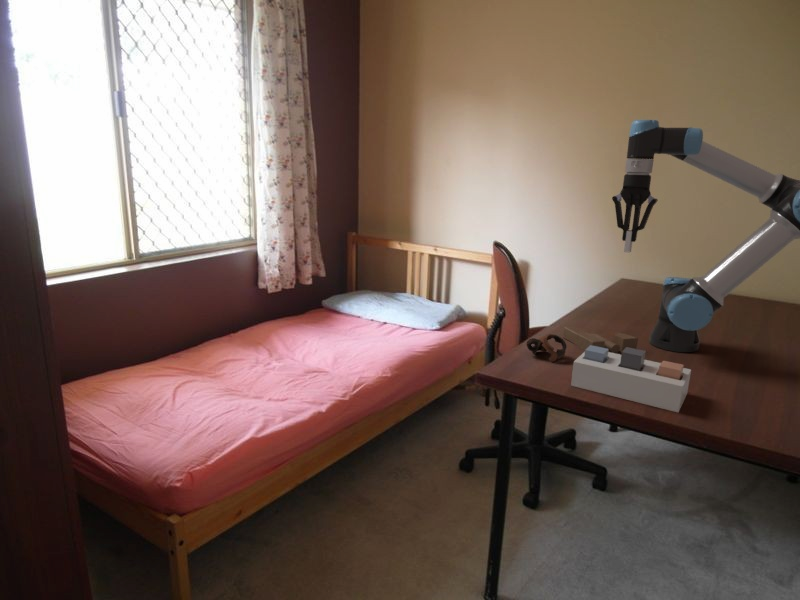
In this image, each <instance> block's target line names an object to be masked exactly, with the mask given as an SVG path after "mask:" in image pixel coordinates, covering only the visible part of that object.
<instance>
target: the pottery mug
mask: <svg viewBox="0 0 800 600" xmlns="http://www.w3.org/2000/svg"><path fill="white" fill-rule="evenodd" d="M552 339H553V340H554V342H556V343H558V344H561V346H562V349H558V348H557V349H556V351H554V350H555V347H554V346H552V345H551V344H550V342H549V340H552ZM525 345H526V348H527V350H528V351H529V352H532V353H531V354H533V355H534V356H535V355H537V352H538V351H540V352H545V353H546V352H548V353H549V354H550V357H549V358H548V361H549V362H551V363H554V362H555V361H557V360H559V359H561V358H563V357H564V356H565V353H566V349H567V343H566V341H565V340H564V339H563V338H562V337H560V336H559V335H557V334H554V333H549V334H546V335H544V336H542V337H540V338H538V339H537V338H534V337H533V338H529V339H528V340H526V344H525Z"/></svg>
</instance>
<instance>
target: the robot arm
mask: <svg viewBox="0 0 800 600" xmlns="http://www.w3.org/2000/svg"><path fill="white" fill-rule="evenodd" d="M703 139H704V132H703V129H702V128H700V127H664V126H663V127H662V126H660V123H659V121H658V120H657V119H635V120H634V121H632V122H631V125H630V129H629V136H628V143H627V152H626V153H627V154H626V159H625V167H624V168H625V169H624V172H625V173H626V174H625V175H624V176H623V177H624V178H623V183H622V189H621V190H620V192H619V194H617V195H613V196H612V198H611V200H612V202H613V203H614V208H615V217H616V218H615V219H616V224H617V225H616V226H617V228H619V229H622V238H621V239H622V241H623V242H624V250H623V253H631V252H632V248H633V247H632V246H633V243H635V242H636V241H637V237H638V231H642V230H644V229H645V227H646V225H647V222H648V220H649V217H650V216H651V215H650V214H651V213H652V210H653V207H654V206H655V205H656V204H657V202H658V198H655V197H654V196H652V194H651V188H650V187H651V181H652V180H651V179H652V176H651V175H650V174H652V173H653V166H654V159H655V154H656V155H668V156H669V155H670V156H671V157H674V158H675V159H677V160H680V161H683V162H684V163H686V164H688V165H690V166H693V167H694V168H697V169H699V170H701V171H702V172H705V173H707V174H709V175H711V176H713V177H715V178H717V179H720V180H721V181H723V182H726V183H727V184H730V185H731V186H734V187H736V188H738V189H740V190H742V191H744V192H746V193H748V194H751V195H752V196H754V197H757V199H758V202H759V203H761V204H763V205H764V206H767V207H769V208H770V209H771V210H770V214H769V215H770V216H769V219H767V220H766V221H765V222H764V223H762V225H760V226H759V227H758V228H757V229H755V231H753V232H752V233H751V234H750V235H749V236H748V237H746V238H745V239H744V240H743V241H742V242H741V243H740V244H739V245H737V246H736V247H735V248H734V249H732V251H730V252H729V253H727V254H726V256H725V257H723V258H722V259H721V260H720V261H718V263H716V264H715V265H714V266H713V267H712V268H710V270H708V271H707V272H705V274H703V276H701V277H692V278H687V277H679V276H676V277H675V276H669V277H665V278H664V281H663V284H662V293H661V298H660V306H659V311H658V317H657V318H658V319H657V321H656V322H655V323H656V324H655V325H654V327H653V329H652V330H651V332H650V335H649V339H648V341H649V344H651V345H652V346H654V347H656V348H658V349H660V350H661V349H662V350H665V351H671V352H678V353H694V352H697V351H699V348H700V338H699V333H698V332H699V330H701V329H703V328H705V327H707V326H708V325H709V323H710V322H711V320H712V318H713V316H714V313H716V312H717V311H718V310H719V309H720V308H722V307H723V306H724V299H725V297H727V296H728V295H729V294H730V293H731V292H733V291H734V290H735V289H737V288H738V287H739V286H740V285H741V284H742V283H744V282H745V281H746V280H747V279H749V278H750V276H752V275H754V273H755V272H757V271H758V270H759V269H760V268H762V267H763V266H764V265H766V264H767V263H768V262H769V261H771V259H772V258H774V257H775V256H776V255H777V254H779V253H780V252H781V251H782V250H784V249H785V247H787V246H788V245H789V244H791V243H792V242H793V241H794V240H800V179H799V180H798V179H796V178H792V177H789V176H786V175H785V174H783V173H778V174H774V173H771V172H769V171H767V170H765V169H763V168H761V167H758V166H757V165H755V164H753V163H750V162H748V161H746V160H744V159H741V158H739V157H737V156H735V155H734V154H731V153H729V152H727V151H725V150H723V149H720V148H719V147H716V146H715V145H714V146H713V145H712V144H710V143H708V142H706V141H704V140H703ZM622 200H623V201H624V203H625V211H624V213H625V214H624V217H623V210H622V204H621V203H622V202H621V201H622ZM646 201H647V205H646V209H645V211H644V212H643V216H642V218H641V221H640V217H641V212H642V211H641V209H642V205H643V204H644V203H645V202H646ZM633 206H634V213H633V221H632V228H631V230H630V224H631V218H632V211H633ZM623 218H624V219H623Z"/></svg>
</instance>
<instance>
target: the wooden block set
mask: <svg viewBox="0 0 800 600" xmlns="http://www.w3.org/2000/svg"><path fill="white" fill-rule="evenodd" d="M563 338H564V339H565V340H567V341H569V342H570V343H572V344H574V345H575V346H576V347H577V348H579V349H581V350H582V351H584V352H585V350H586V349H587V348H588V347H589V346H590V345H592V346H597V347H602V348H607V349H609V351H608V352H611V353H616V354H619V352H621V353H622V351H623V350H624V349H625V348H626V347H629V348H634V349H637V347H638V341H639V340H638V339H639V338H638V337H636V336H633V335H631V334H630V335H629V334H626V333H623V332H618V333H615V334H613V341H611V340H609V339H608V338H605V337H603V336H602V335H600V334H598V333H596V332H594V333H590V332H586V331H584V330H583V329H581V328H579V327H577V326H576V327H574V326H571V325H570V326H564V327H563Z"/></svg>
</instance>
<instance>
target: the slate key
mask: <svg viewBox="0 0 800 600" xmlns="http://www.w3.org/2000/svg"><path fill="white" fill-rule="evenodd" d="M584 352H585V356H584V359H587V360H592V361H596V362H601V363H605V362H606V361H607V358H608V352H609V349H607V348H602V347H597V346H592V345H590V346H589V347H588V348H587V349H586V350H585V351H584Z"/></svg>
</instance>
